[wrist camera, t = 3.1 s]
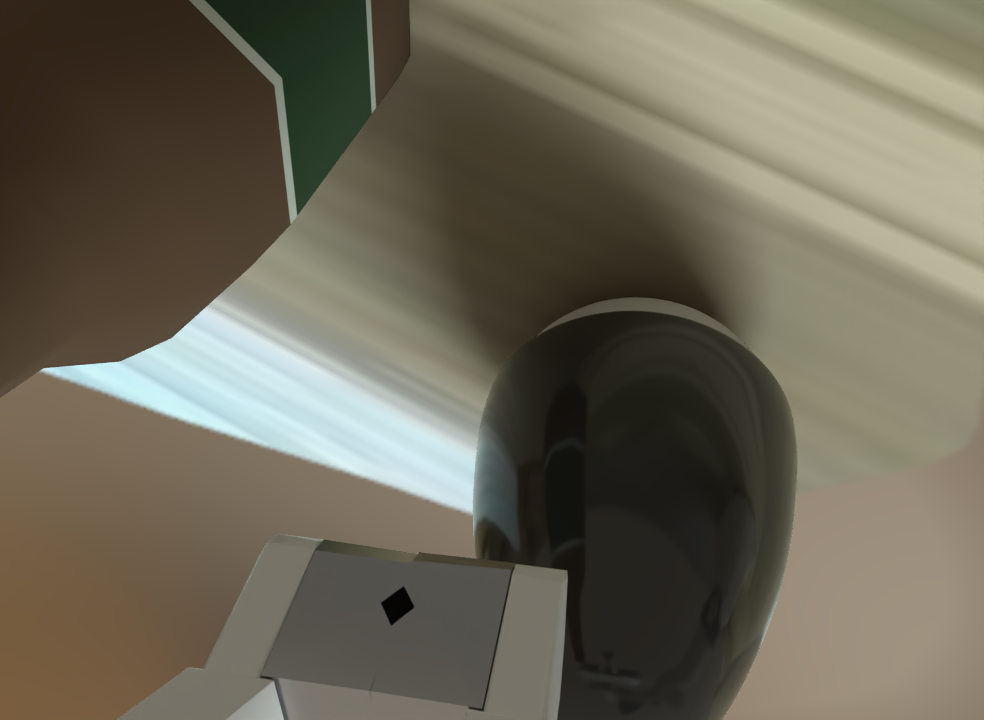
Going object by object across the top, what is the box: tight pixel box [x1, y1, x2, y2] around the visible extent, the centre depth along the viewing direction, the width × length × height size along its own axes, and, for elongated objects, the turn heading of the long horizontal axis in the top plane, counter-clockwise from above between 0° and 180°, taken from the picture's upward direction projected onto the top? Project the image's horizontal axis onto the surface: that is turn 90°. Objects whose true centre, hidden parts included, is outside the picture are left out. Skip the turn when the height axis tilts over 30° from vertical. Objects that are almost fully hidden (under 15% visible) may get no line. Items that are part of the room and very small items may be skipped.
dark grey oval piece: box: [473, 297, 797, 720], centre depth 28 cm, size 10×10×15 cm
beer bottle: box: [0, 0, 410, 397], centre depth 18 cm, size 8×8×24 cm
